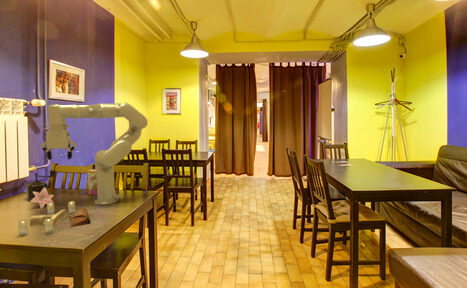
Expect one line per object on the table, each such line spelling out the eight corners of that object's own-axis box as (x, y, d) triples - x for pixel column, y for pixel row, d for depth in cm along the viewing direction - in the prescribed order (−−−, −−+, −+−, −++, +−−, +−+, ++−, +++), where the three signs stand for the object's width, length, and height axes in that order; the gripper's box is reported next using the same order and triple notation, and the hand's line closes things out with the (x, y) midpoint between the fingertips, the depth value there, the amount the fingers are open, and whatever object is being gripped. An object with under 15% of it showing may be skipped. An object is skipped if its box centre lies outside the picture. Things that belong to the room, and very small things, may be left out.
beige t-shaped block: (66, 209, 136) (40, 211, 134) (51, 220, 121) (21, 222, 118) (66, 216, 137) (40, 218, 134) (52, 229, 121) (22, 231, 119)
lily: (26, 212, 146) (32, 198, 144) (26, 199, 155) (32, 186, 153) (51, 213, 154) (57, 200, 153) (50, 201, 163) (56, 188, 161)
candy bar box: (87, 195, 176) (86, 170, 175) (92, 193, 181) (90, 169, 180) (104, 195, 175) (102, 170, 174) (108, 193, 180) (106, 169, 179)
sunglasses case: (67, 216, 136) (74, 204, 138) (81, 220, 140) (88, 208, 141) (69, 227, 121) (77, 214, 123) (85, 232, 125) (92, 218, 127)
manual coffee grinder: (28, 201, 162) (26, 172, 160) (26, 198, 170) (24, 170, 168) (58, 196, 172) (56, 169, 171) (55, 193, 180) (53, 167, 179)
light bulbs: (76, 211, 143) (75, 200, 143) (51, 233, 115) (50, 220, 114) (49, 213, 140) (48, 202, 140) (17, 236, 112) (16, 223, 112)
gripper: (77, 127, 148) (79, 157, 150) (43, 127, 145) (45, 158, 146) (72, 127, 141) (74, 159, 143) (36, 128, 137) (38, 160, 139)
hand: (59, 159), depth 144 cm, fingers open, 9 cm apart
